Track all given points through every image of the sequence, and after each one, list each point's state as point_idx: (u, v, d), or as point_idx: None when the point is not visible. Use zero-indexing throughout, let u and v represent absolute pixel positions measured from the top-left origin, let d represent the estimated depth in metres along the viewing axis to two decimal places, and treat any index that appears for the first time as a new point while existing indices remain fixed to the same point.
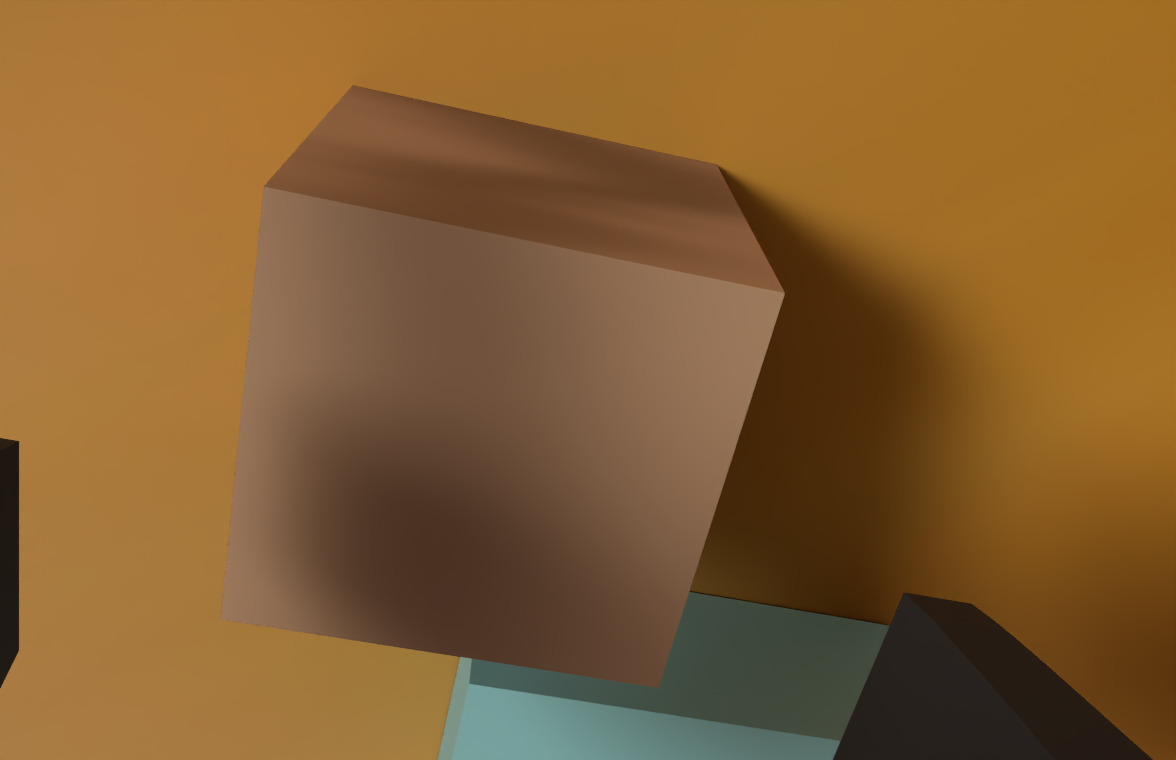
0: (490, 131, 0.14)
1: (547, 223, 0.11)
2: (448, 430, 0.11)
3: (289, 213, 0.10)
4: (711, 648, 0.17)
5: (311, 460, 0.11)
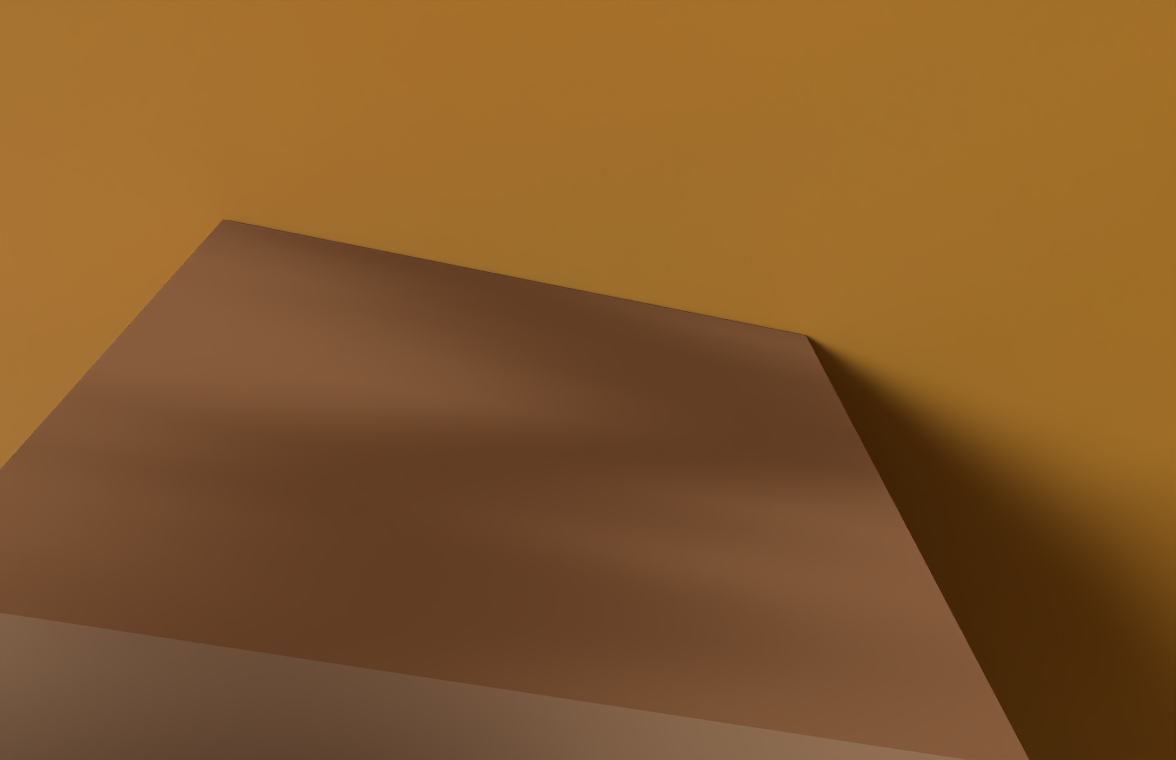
0: (442, 309, 0.08)
1: (536, 601, 0.05)
2: None
3: None
4: None
5: None
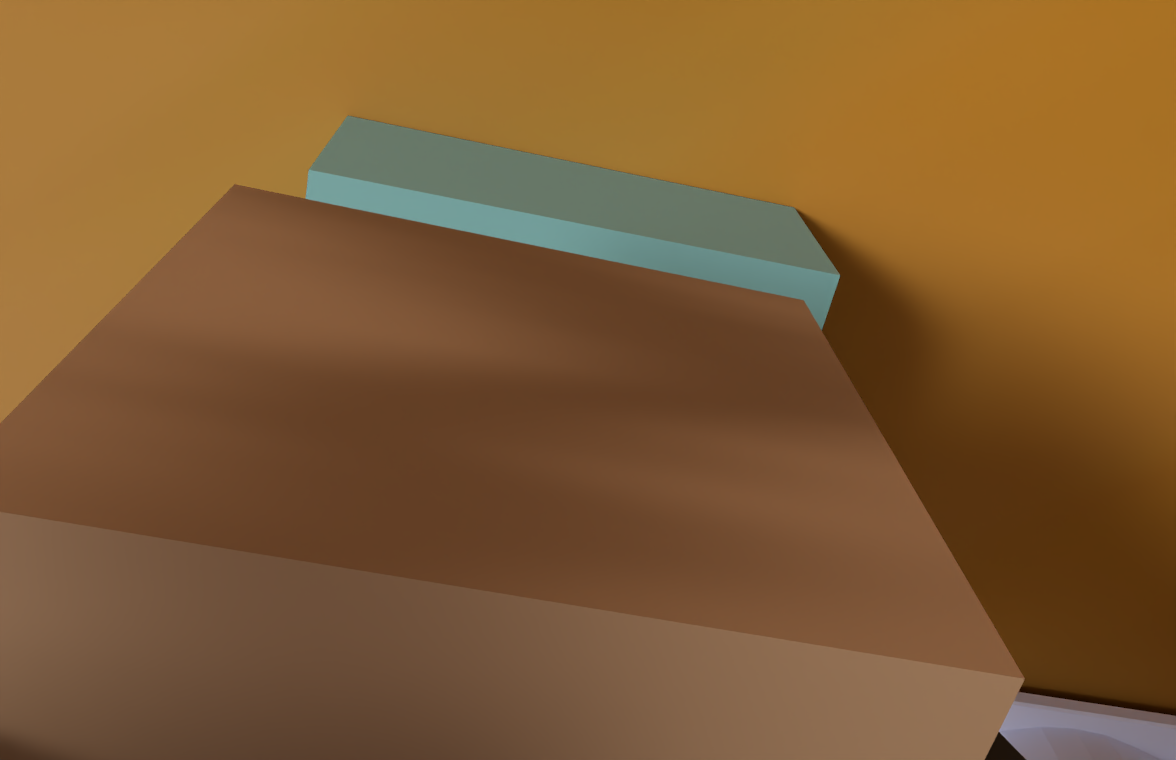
0: (449, 268, 0.08)
1: (542, 522, 0.06)
2: None
3: None
4: (590, 190, 0.16)
5: None
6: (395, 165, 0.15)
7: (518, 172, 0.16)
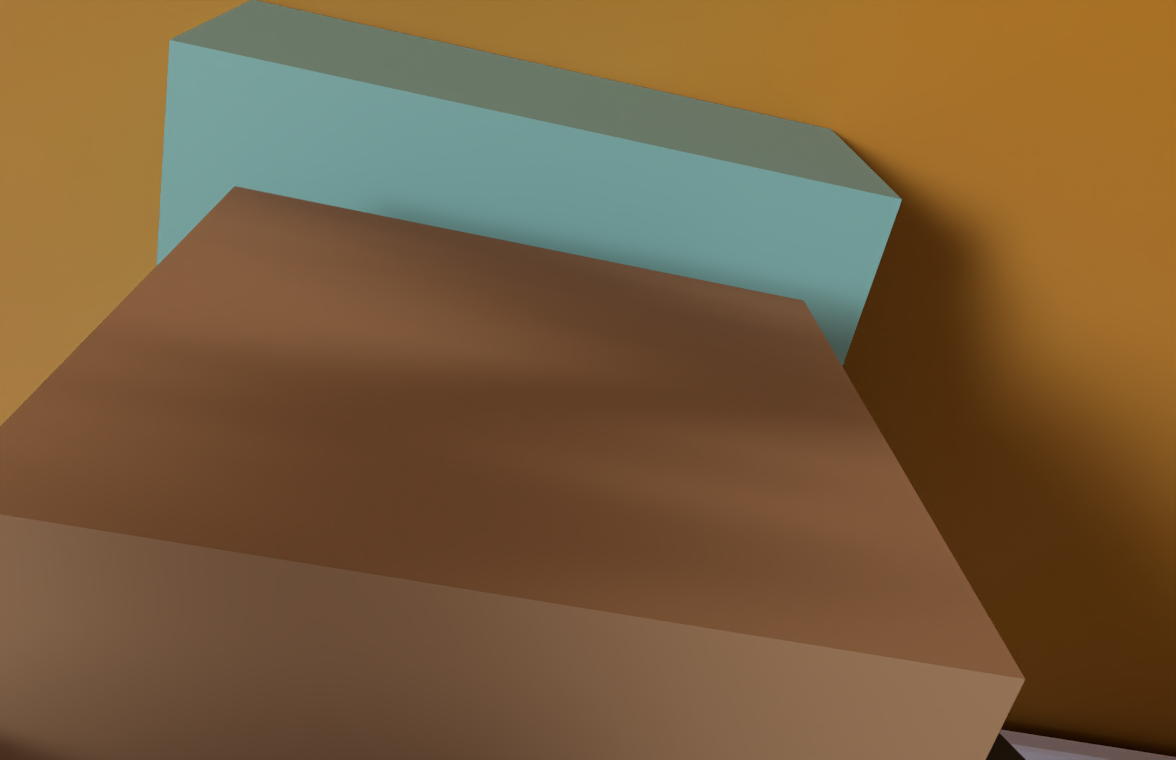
0: (449, 269, 0.08)
1: (544, 524, 0.06)
2: None
3: None
4: (566, 92, 0.12)
5: None
6: (298, 47, 0.11)
7: (472, 68, 0.12)
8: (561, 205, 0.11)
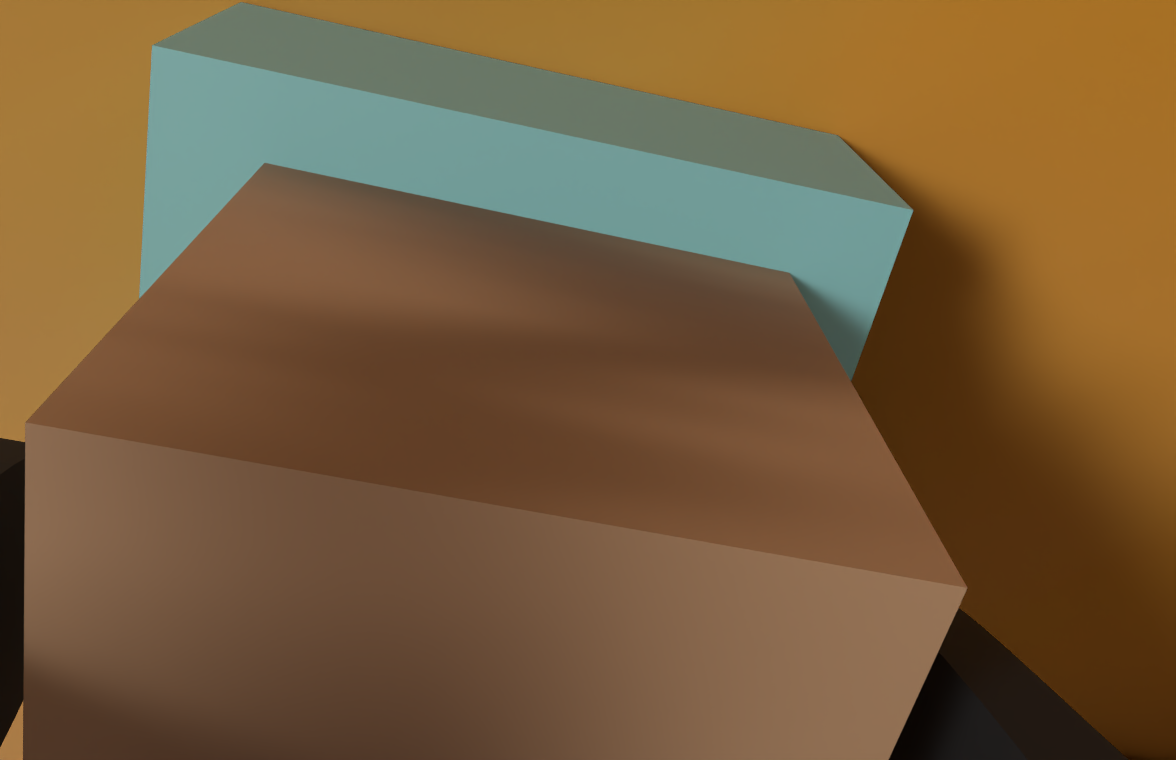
0: (462, 240, 0.09)
1: (551, 454, 0.06)
2: None
3: (77, 466, 0.06)
4: (565, 98, 0.11)
5: None
6: (288, 51, 0.10)
7: (467, 73, 0.11)
8: (560, 216, 0.10)
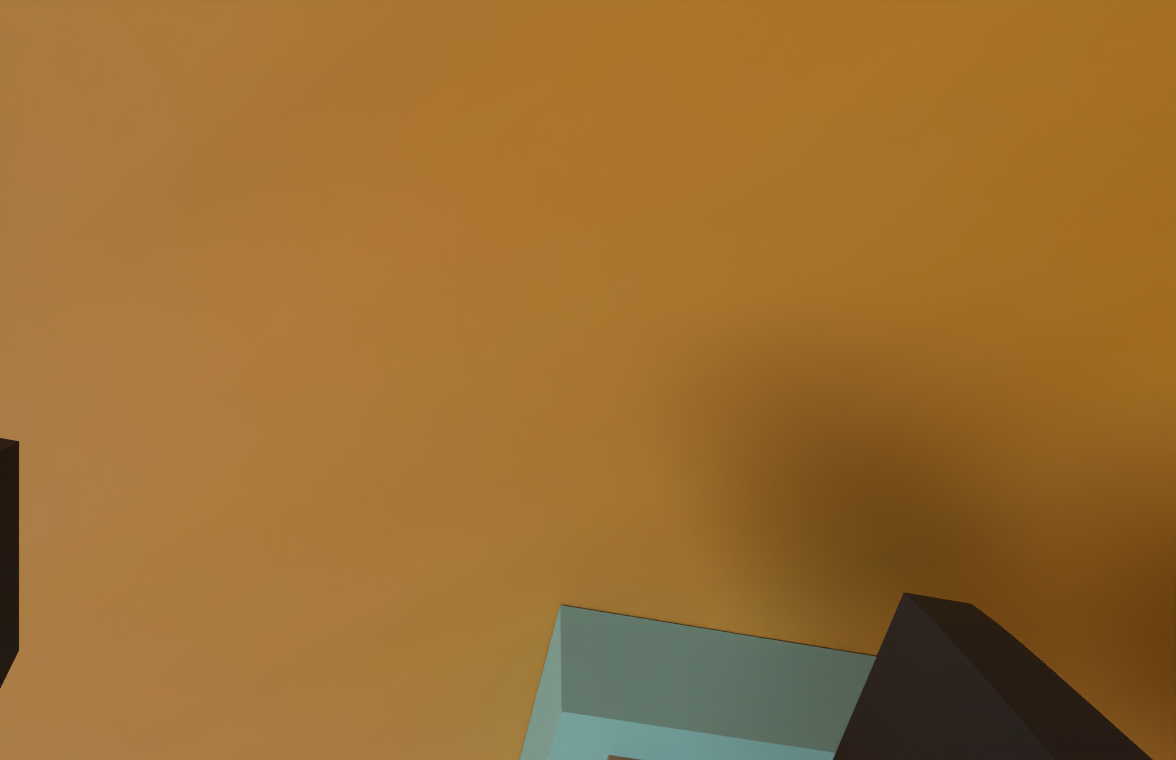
0: None
1: None
2: None
3: None
4: (746, 679, 0.21)
5: None
6: (612, 683, 0.20)
7: (693, 664, 0.21)
8: None
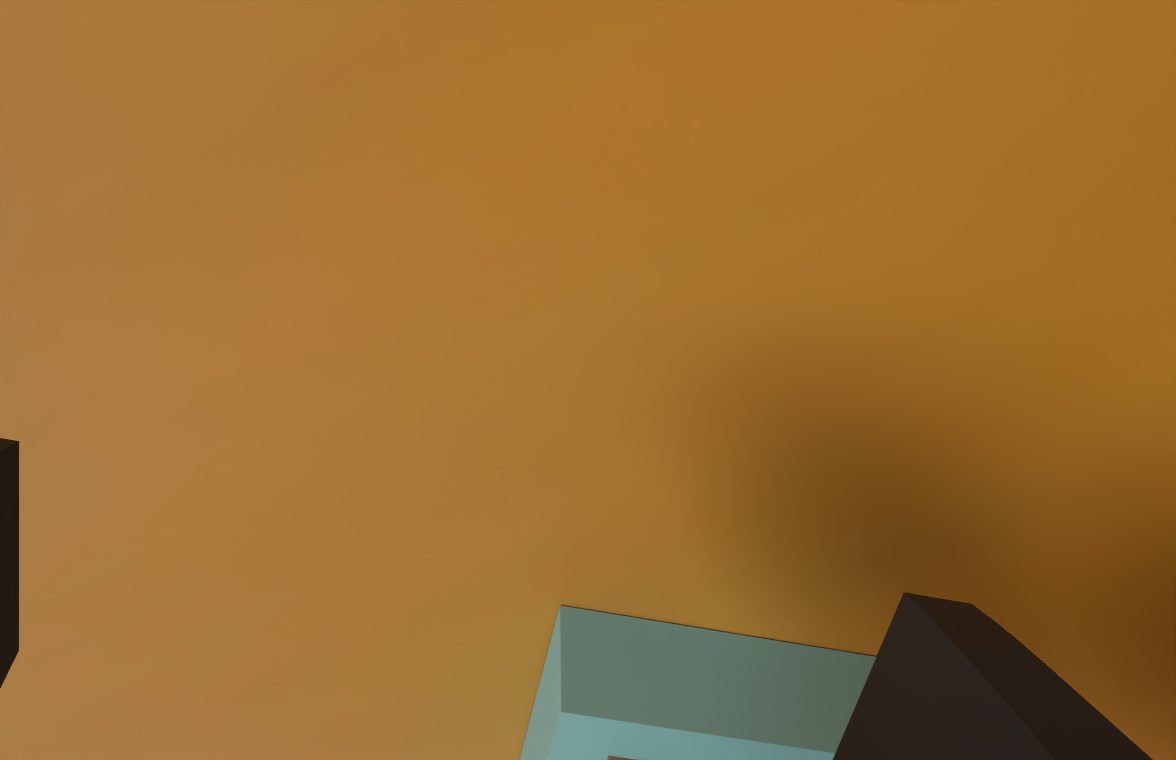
0: None
1: None
2: None
3: None
4: (746, 680, 0.21)
5: None
6: (611, 683, 0.20)
7: (693, 665, 0.21)
8: None
